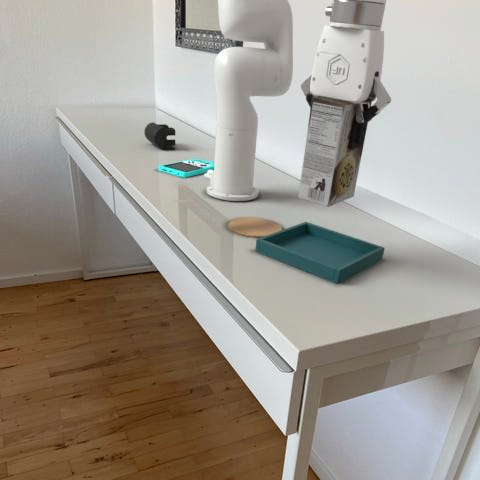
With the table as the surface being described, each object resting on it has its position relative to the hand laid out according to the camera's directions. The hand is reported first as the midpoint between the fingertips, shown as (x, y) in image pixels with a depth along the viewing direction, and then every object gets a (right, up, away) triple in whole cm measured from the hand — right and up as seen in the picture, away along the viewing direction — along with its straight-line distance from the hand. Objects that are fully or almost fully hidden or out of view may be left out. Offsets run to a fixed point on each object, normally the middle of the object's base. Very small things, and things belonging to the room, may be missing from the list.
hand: (335, 142), depth 83 cm
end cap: (-42, +27, +81) cm, 95 cm away
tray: (-1, -18, +10) cm, 20 cm away
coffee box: (-1, -8, +5) cm, 9 cm away
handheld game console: (-30, +13, +58) cm, 66 cm away
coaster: (-13, -10, +20) cm, 26 cm away
